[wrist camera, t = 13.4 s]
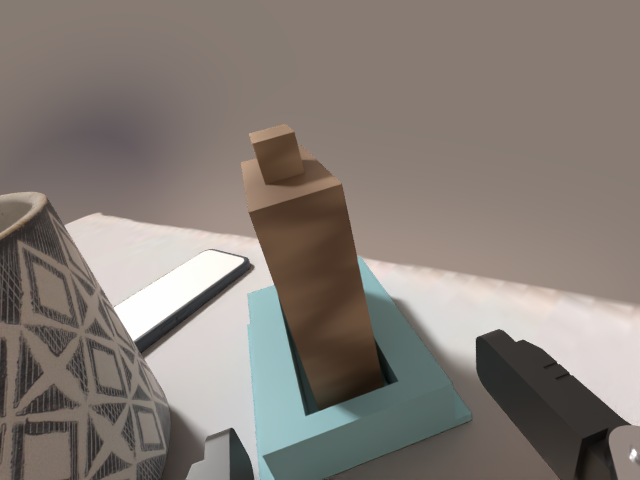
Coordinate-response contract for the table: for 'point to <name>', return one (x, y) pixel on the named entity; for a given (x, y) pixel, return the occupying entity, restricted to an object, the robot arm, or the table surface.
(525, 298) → the table surface
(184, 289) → the phone case
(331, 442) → the teal rack
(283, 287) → the brown wooden bottle
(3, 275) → the planter
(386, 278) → the table surface
